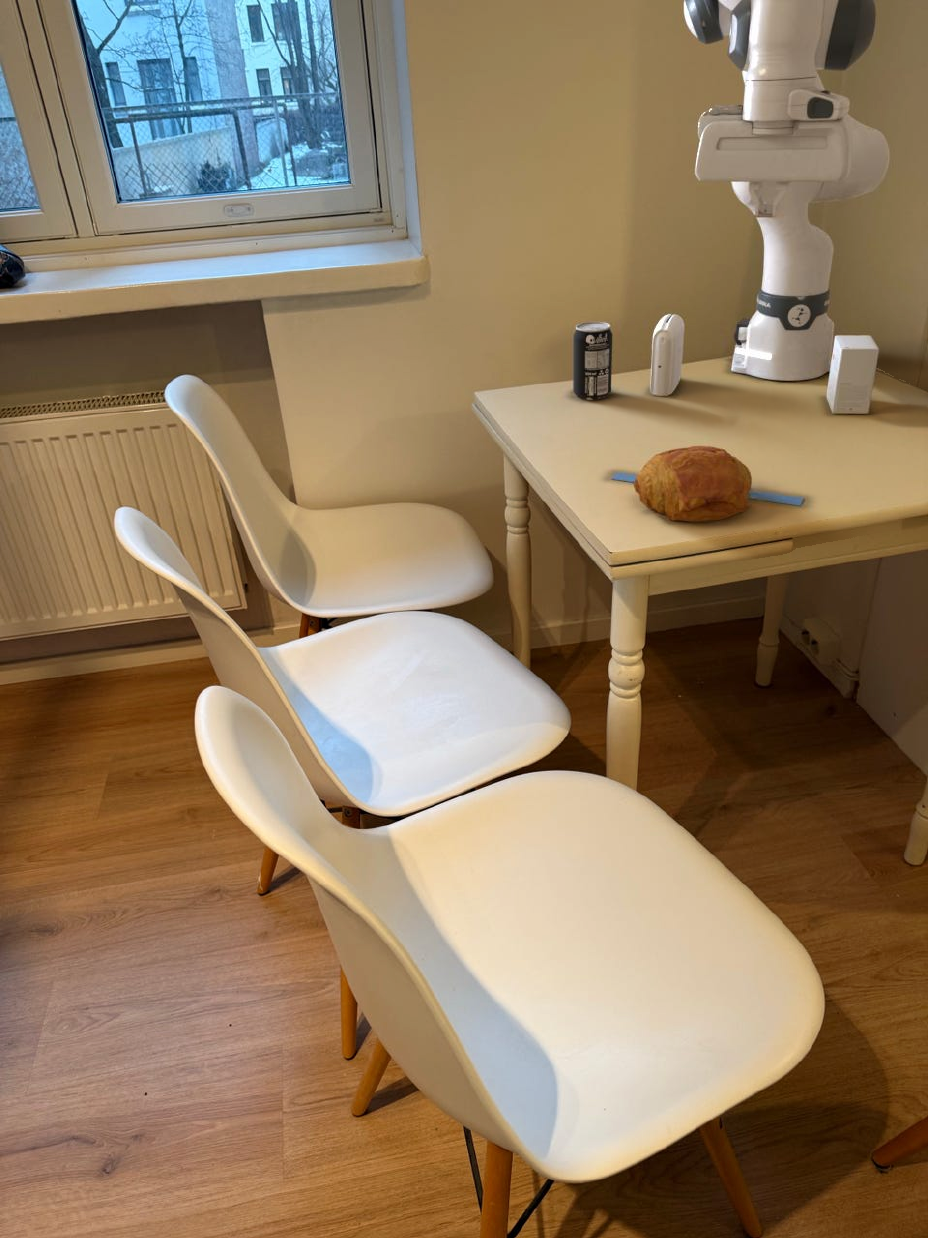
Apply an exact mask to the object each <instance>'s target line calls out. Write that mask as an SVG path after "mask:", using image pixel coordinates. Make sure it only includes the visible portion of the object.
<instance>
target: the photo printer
mask: <svg viewBox="0 0 928 1238" xmlns="http://www.w3.org/2000/svg"><path fill="white" fill-rule="evenodd" d="M684 337H685V322H684V320H683V318H682V317H681V316H680V315H679V314H675V313H674V314H672V313H668V314H666V315H664V316H663V317H661V319H660V320H658V323H657V324H656V326H655V328H654V330H653V334H652V342H651V343H652V344H651V365H650V383H649V384H650V385H649V390H650V394H652V395H653V396H656V397H657V396H658V397H667V396H669V395H672V393H673V392H674V391H675V390H676V389H677V387H678V385H679V383H680V380H681V377H682V369H683V368H682V366H683V352H684Z"/></svg>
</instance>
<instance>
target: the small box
mask: <svg viewBox="0 0 928 1238" xmlns="http://www.w3.org/2000/svg"><path fill="white" fill-rule="evenodd" d="M879 353H880V348H879V347H878V345H877V343H876V342H875V340H874V338H873V337H872V335H867V334H866V335H865V334H864V335H851V334H849V335H846V334H845V335H834V339H833V346H832V354H831V358H832V361H831V368H830V371H829V375H828V381H827V382H828V383H827V389H826V396H825V398H826V400H827V403H828V405H829V408H830V410H831V413H832V414H834V415H835V414H846V415H847V414H849V415H850V414H855V415H856V414H857V415H859V414H861V415H864V414H865V415H867V414H869V413H870V406H871V401H872V396H873V395H872V394H873V389H874V382H875V377H876V371H877V364H878V360H879V359H878V358H879Z"/></svg>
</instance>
